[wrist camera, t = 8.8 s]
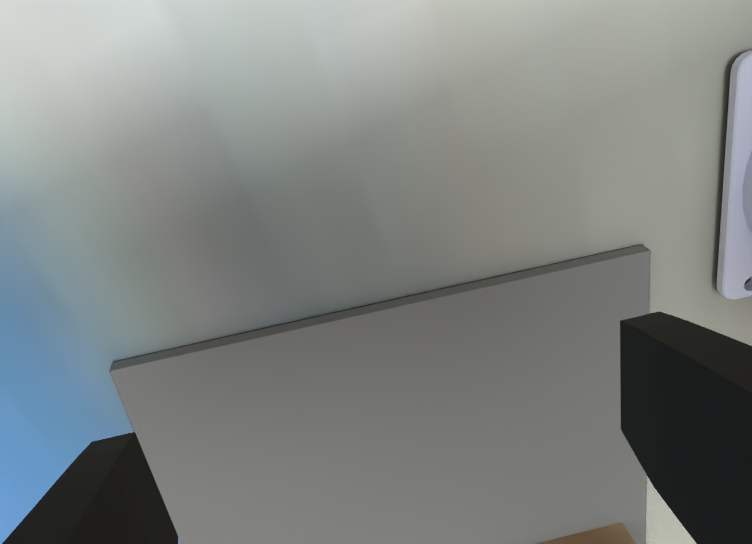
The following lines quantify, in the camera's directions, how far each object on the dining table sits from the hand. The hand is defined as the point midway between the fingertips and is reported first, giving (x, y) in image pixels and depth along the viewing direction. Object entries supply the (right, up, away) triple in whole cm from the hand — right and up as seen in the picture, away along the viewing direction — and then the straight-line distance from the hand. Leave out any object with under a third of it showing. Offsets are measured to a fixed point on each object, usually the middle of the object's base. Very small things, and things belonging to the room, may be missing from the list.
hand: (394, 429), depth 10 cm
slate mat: (+2, -7, +15) cm, 17 cm away
